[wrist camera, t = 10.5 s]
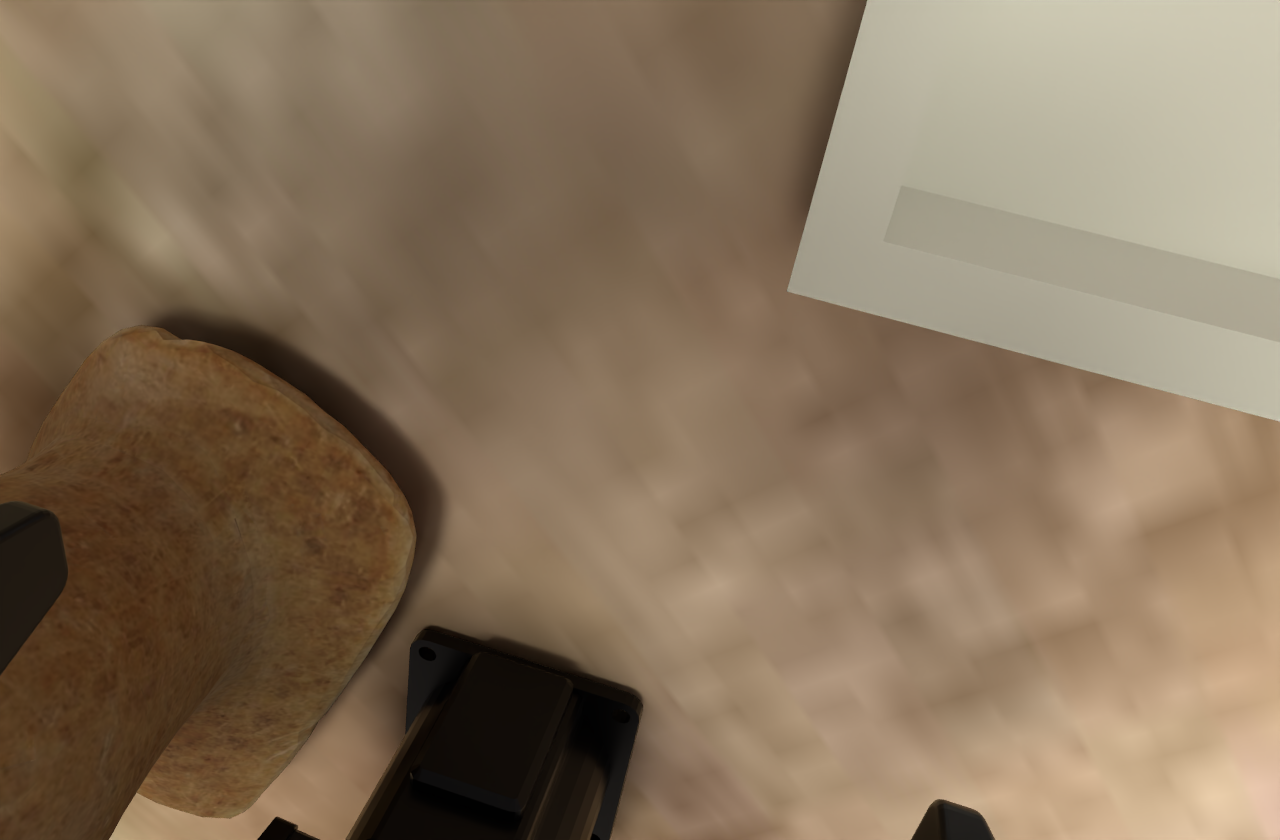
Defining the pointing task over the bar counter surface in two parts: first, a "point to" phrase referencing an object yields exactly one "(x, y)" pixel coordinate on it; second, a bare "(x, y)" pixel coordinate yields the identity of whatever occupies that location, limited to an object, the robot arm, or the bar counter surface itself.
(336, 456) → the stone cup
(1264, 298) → the tray
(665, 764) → the bar counter surface
